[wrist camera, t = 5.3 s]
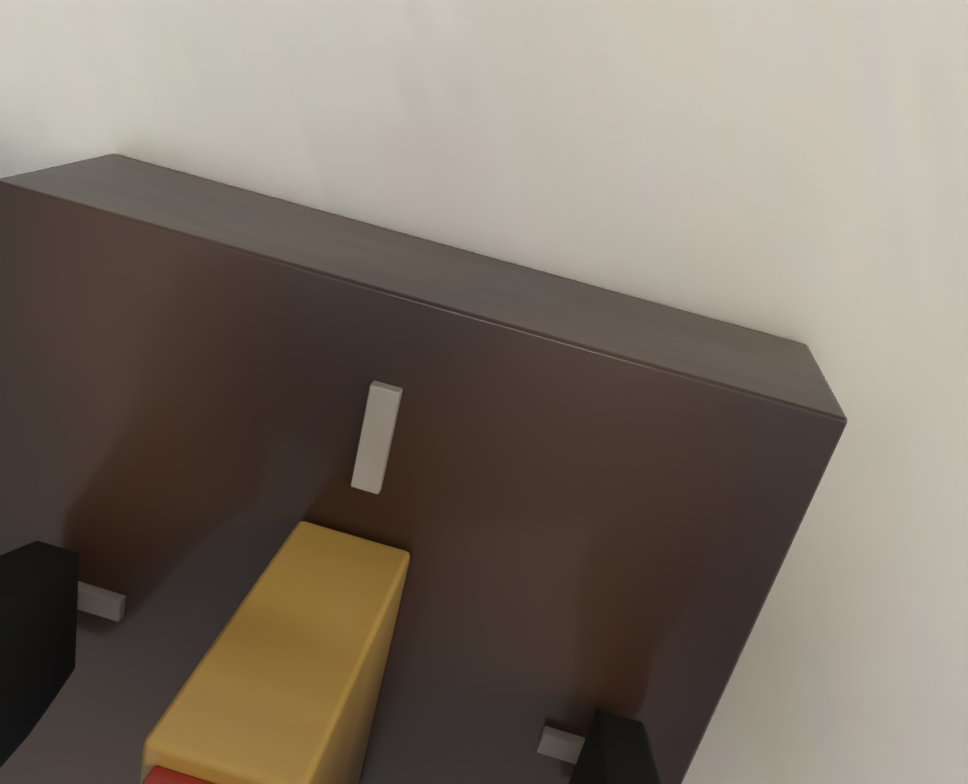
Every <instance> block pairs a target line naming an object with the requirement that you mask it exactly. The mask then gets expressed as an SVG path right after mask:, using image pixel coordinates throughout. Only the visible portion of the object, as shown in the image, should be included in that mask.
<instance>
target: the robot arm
mask: <svg viewBox="0 0 968 784" xmlns="http://www.w3.org/2000/svg"><path fill="white" fill-rule="evenodd" d="M78 571H79V553H77V552H74V551H71V550H67V549H64V548H61V547H57V546H54V545H51V544H47V543H44V542H41V541H35V542H32V543H30V544H27V545H25V546H22V547H20V548H17V549H15V550H12V551H10V552H7V553H5V554H3V555H0V768H1V766H2V765H3V764H4V763H5V762H6V761H7V760H8V759H9V757H10V756H11V755H12V754H13V753H14V752H15V751H16V749H17V748H18V747H19V746H20V745H21V744H22V742H23V741H24V740H25V739H26V738H27V737H28V735H29V734H30V733H31V731H32V730H33V729H34V727H35V726H36V724H37V723H38V722H39V720H40V719H41V717H42V716H43V715H44V713H45V712H46V710H47V709H48V708H49V706H50V705H51V703H52V702H53V700H54V699H55V697H56V696H57V694H58V693H59V692H60V690H61V689H62V687H63V686H64V684H65V683H66V681H67V680H68V678H69V677H70V675H71V674H72V672H73V671H74V669H75V657H76V629H77V600H78ZM569 784H663V781H662V778H661V775H660V772H659V769H658V765H657V762H656V759H655V755H654V752H653V748H652V745H651V741H650V738H649V734H648V731H647V729H646V727H645V726H644V724H643V722H640V721H637V720H634V719H630V718H627V717H624V716H620V715H617V714H614V713H610V712H607V711H604V710H600V709H597V708H596V711H595V714H594V717H593V719H592V722H591V725H590V727H589V730H588V733H587V736H586V738H585V741H584V744H583V746H582V749H581V752H580V754H579V757H578V760H577V763H576V765H575V768H574V771H573V773H572V776H571V779H570V782H569Z"/></svg>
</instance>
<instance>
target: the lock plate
mask: <svg viewBox="0 0 968 784" xmlns="http://www.w3.org/2000/svg"><path fill="white" fill-rule="evenodd" d="M846 424H847V418H846V416H845V414H844V412H843V411H842V409H841V407H840V405H839V403H838V401H837V400H836V398H835V396H834V394H833V392H832V390H831V388H830V387H829V385H828V383H827V381H826V379H825V377H824V376H823V374H822V372H821V370H820V368H819V366H818V364H817V363H816V361H815V359H814V357H813V355H812V353H811V351H810V350H809V348H808V346H807V345H805V344H801V343H798V342H794V341H790V340H787V339H783V338H780V337H776V336H772V335H769V334H765V333H762V332H758V331H754V330H751V329H747V328H743V327H740V326H736V325H733V324H729V323H725V322H722V321H718V320H714V319H711V318H707V317H704V316H700V315H696V314H693V313H689V312H685V311H682V310H678V309H675V308H671V307H667V306H664V305H660V304H656V303H653V302H649V301H646V300H642V299H638V298H635V297H631V296H627V295H624V294H620V293H617V292H613V291H609V290H606V289H602V288H598V287H595V286H591V285H588V284H584V283H580V282H577V281H573V280H569V279H566V278H562V277H559V276H555V275H551V274H548V273H544V272H540V271H537V270H533V269H530V268H526V267H522V266H519V265H515V264H511V263H508V262H504V261H501V260H497V259H493V258H490V257H486V256H483V255H479V254H475V253H472V252H468V251H464V250H461V249H457V248H454V247H450V246H446V245H443V244H439V243H435V242H432V241H428V240H425V239H421V238H417V237H414V236H410V235H406V234H403V233H399V232H396V231H392V230H388V229H385V228H381V227H377V226H374V225H370V224H367V223H363V222H359V221H356V220H352V219H348V218H345V217H341V216H338V215H334V214H330V213H327V212H323V211H319V210H316V209H312V208H309V207H305V206H301V205H298V204H294V203H290V202H287V201H283V200H280V199H276V198H272V197H269V196H265V195H261V194H258V193H254V192H251V191H247V190H243V189H240V188H236V187H233V186H229V185H225V184H222V183H218V182H214V181H211V180H207V179H204V178H200V177H196V176H193V175H189V174H185V173H182V172H178V171H175V170H171V169H167V168H164V167H160V166H156V165H153V164H149V163H146V162H142V161H138V160H135V159H131V158H127V157H124V156H120V155H117V154H110V155H106V156H101V157H97V158H92V159H88V160H83V161H79V162H74V163H70V164H65V165H61V166H56V167H52V168H47V169H43V170H38V171H34V172H29V173H25V174H20V175H15V176H11V177H6V178H2V179H0V555H3V554H5V553H7V552H10V551H12V550H15V549H17V548H20V547H22V546H25V545H27V544H30V543H32V542H35V541H41V542H44V543H47V544H51V545H54V546H57V547H61V548H64V549H67V550H71V551H74V552H77V553H79V571H78V600H77V629H76V657H75V669H74V671H73V672H72V674H71V675H70V677H69V678H68V680H67V681H66V683H65V684H64V686H63V687H62V689H61V690H60V692H59V693H58V694H57V696H56V697H55V699H54V700H53V702H52V703H51V705H50V706H49V708H48V709H47V710H46V712H45V713H44V715H43V716H42V717H41V719H40V720H39V722H38V723H37V724H36V726H35V727H34V729H33V730H32V731H31V733H30V734H29V735H28V737H27V738H26V739H25V740H24V741H23V742H22V744H21V745H20V746H19V747H18V748H17V749H16V751H15V752H14V753H13V754H12V755H11V756H10V757H9V759H8V760H7V761H6V762H5V763H4V764H3V765H2V766H1V768H0V784H140V778H141V766H142V753H143V744H144V740H145V739H146V737H147V736H148V735H149V733H150V732H151V730H152V729H153V728H154V726H155V725H156V723H157V722H158V720H159V719H160V718H161V716H162V715H163V713H164V712H165V711H166V709H167V708H168V706H169V705H170V703H171V702H172V701H173V699H174V698H175V696H176V695H177V694H178V692H179V691H180V689H181V688H182V686H183V685H184V684H185V682H186V681H187V679H188V678H189V676H190V675H191V674H192V672H193V671H194V669H195V668H196V667H197V665H198V664H199V662H200V661H201V659H202V658H203V657H204V655H205V654H206V652H207V651H208V650H209V648H210V647H211V645H212V644H213V642H214V641H215V640H216V638H217V637H218V635H219V634H220V633H221V631H222V630H223V628H224V627H225V625H226V624H227V623H228V621H229V620H230V618H231V617H232V615H233V614H234V613H235V611H236V610H237V608H238V607H239V606H240V604H241V603H242V601H243V600H244V598H245V597H246V596H247V594H248V593H249V591H250V590H251V589H252V587H253V586H254V584H255V583H256V581H257V580H258V579H259V577H260V576H261V574H262V573H263V572H264V570H265V569H266V567H267V566H268V564H269V563H270V562H271V560H272V559H273V557H274V556H275V555H276V553H277V552H278V550H279V549H280V547H281V546H282V545H283V543H284V542H285V540H286V539H287V537H288V536H289V535H290V533H291V532H292V530H293V529H294V528H295V526H296V525H297V523H298V522H300V521H306V522H310V523H313V524H316V525H320V526H323V527H327V528H330V529H334V530H337V531H340V532H344V533H347V534H351V535H354V536H357V537H361V538H364V539H368V540H371V541H375V542H378V543H381V544H385V545H388V546H392V547H395V548H399V549H402V550H405V551H407V552H409V556H410V561H409V565H408V570H407V574H406V579H405V583H404V587H403V592H402V596H401V600H400V605H399V609H398V614H397V618H396V622H395V627H394V631H393V635H392V640H391V644H390V649H389V653H388V657H387V662H386V666H385V670H384V675H383V679H382V684H381V688H380V692H379V697H378V701H377V705H376V710H375V714H374V719H373V723H372V727H371V732H370V736H369V740H368V745H367V749H366V754H365V758H364V762H363V767H362V771H361V775H360V780H359V784H569V782H570V779H571V776H572V773H573V771H574V768H575V765H576V763H577V760H578V757H579V754H580V752H581V749H582V746H583V744H584V741H585V738H586V736H587V733H588V730H589V727H590V725H591V722H592V719H593V717H594V714H595V711H596V708H597V709H600V710H604V711H607V712H610V713H614V714H617V715H620V716H624V717H627V718H630V719H634V720H637V721H640V722H643V724H644V726H645V727H646V729H647V731H648V734H649V738H650V741H651V745H652V748H653V752H654V755H655V759H656V762H657V765H658V769H659V772H660V775H661V778H662V781H663V784H682V782H683V779H684V777H685V775H686V773H687V771H688V768H689V766H690V764H691V762H692V760H693V758H694V755H695V753H696V751H697V749H698V747H699V744H700V742H701V740H702V738H703V736H704V734H705V731H706V729H707V727H708V725H709V723H710V720H711V718H712V716H713V714H714V712H715V710H716V707H717V705H718V703H719V701H720V699H721V696H722V694H723V692H724V690H725V688H726V686H727V683H728V681H729V679H730V677H731V675H732V672H733V670H734V668H735V666H736V664H737V662H738V659H739V657H740V655H741V653H742V651H743V648H744V646H745V644H746V642H747V640H748V638H749V635H750V633H751V631H752V629H753V627H754V624H755V622H756V620H757V618H758V616H759V613H760V611H761V609H762V607H763V605H764V603H765V600H766V598H767V596H768V594H769V592H770V589H771V587H772V585H773V583H774V581H775V579H776V576H777V574H778V572H779V570H780V568H781V565H782V563H783V561H784V559H785V557H786V555H787V552H788V550H789V548H790V546H791V544H792V541H793V539H794V537H795V535H796V533H797V531H798V528H799V526H800V524H801V522H802V520H803V517H804V515H805V513H806V511H807V509H808V507H809V504H810V502H811V500H812V498H813V496H814V493H815V491H816V489H817V487H818V485H819V483H820V480H821V478H822V476H823V474H824V472H825V469H826V467H827V465H828V463H829V461H830V459H831V456H832V454H833V452H834V450H835V448H836V445H837V443H838V441H839V439H840V437H841V435H842V432H843V430H844V428H845V426H846Z"/></svg>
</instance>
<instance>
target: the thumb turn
mask: <svg viewBox="0 0 968 784" xmlns="http://www.w3.org/2000/svg"><path fill="white" fill-rule="evenodd" d="M409 561H410V556H409V552H407V551H405V550H402V549H399V548H395V547H392V546H388V545H385V544H381V543H378V542H375V541H371V540H368V539H364V538H361V537H357V536H354V535H351V534H347V533H344V532H340V531H337V530H334V529H330V528H327V527H323V526H320V525H316V524H313V523H310V522H306V521H300V522H298V523H297V525H296V526H295V528H294V529H293V530H292V532H291V533H290V535H289V536H288V537H287V539H286V540H285V542H284V543H283V545H282V546H281V547H280V549H279V550H278V552H277V553H276V555H275V556H274V557H273V559H272V560H271V562H270V563H269V564H268V566H267V567H266V569H265V570H264V572H263V573H262V574H261V576H260V577H259V579H258V580H257V581H256V583H255V584H254V586H253V587H252V589H251V590H250V591H249V593H248V594H247V596H246V597H245V598H244V600H243V601H242V603H241V604H240V606H239V607H238V608H237V610H236V611H235V613H234V614H233V615H232V617H231V618H230V620H229V621H228V623H227V624H226V625H225V627H224V628H223V630H222V631H221V633H220V634H219V635H218V637H217V638H216V640H215V641H214V642H213V644H212V645H211V647H210V648H209V650H208V651H207V652H206V654H205V655H204V657H203V658H202V659H201V661H200V662H199V664H198V665H197V667H196V668H195V669H194V671H193V672H192V674H191V675H190V676H189V678H188V679H187V681H186V682H185V684H184V685H183V686H182V688H181V689H180V691H179V692H178V694H177V695H176V696H175V698H174V699H173V701H172V702H171V703H170V705H169V706H168V708H167V709H166V711H165V712H164V713H163V715H162V716H161V718H160V719H159V720H158V722H157V723H156V725H155V726H154V728H153V729H152V730H151V732H150V733H149V735H148V736H147V737H146V739H145V740H144V744H143V753H142V766H141V778H140V784H359V780H360V775H361V771H362V767H363V762H364V758H365V754H366V749H367V745H368V740H369V736H370V732H371V727H372V723H373V719H374V714H375V710H376V705H377V701H378V697H379V692H380V688H381V684H382V679H383V675H384V670H385V666H386V662H387V657H388V653H389V649H390V644H391V640H392V635H393V631H394V627H395V622H396V618H397V614H398V609H399V605H400V600H401V596H402V592H403V587H404V583H405V579H406V574H407V570H408V565H409Z"/></svg>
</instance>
